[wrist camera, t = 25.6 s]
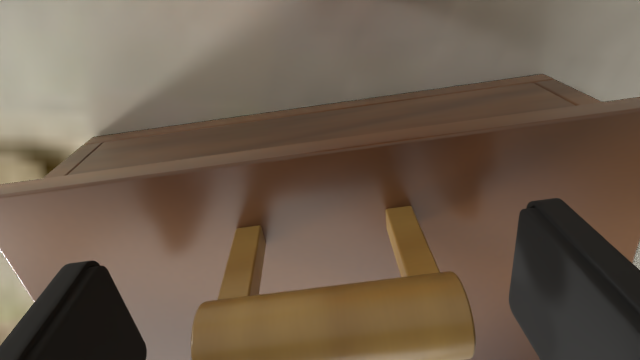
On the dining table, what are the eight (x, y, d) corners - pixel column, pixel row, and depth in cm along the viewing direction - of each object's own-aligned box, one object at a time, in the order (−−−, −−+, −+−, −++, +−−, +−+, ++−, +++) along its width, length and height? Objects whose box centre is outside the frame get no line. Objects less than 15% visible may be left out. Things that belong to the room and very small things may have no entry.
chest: (92, 136, 16) (2, 209, 11) (543, 73, 15) (649, 123, 10) (196, 372, 23) (168, 478, 18) (508, 336, 22) (562, 435, 17)
